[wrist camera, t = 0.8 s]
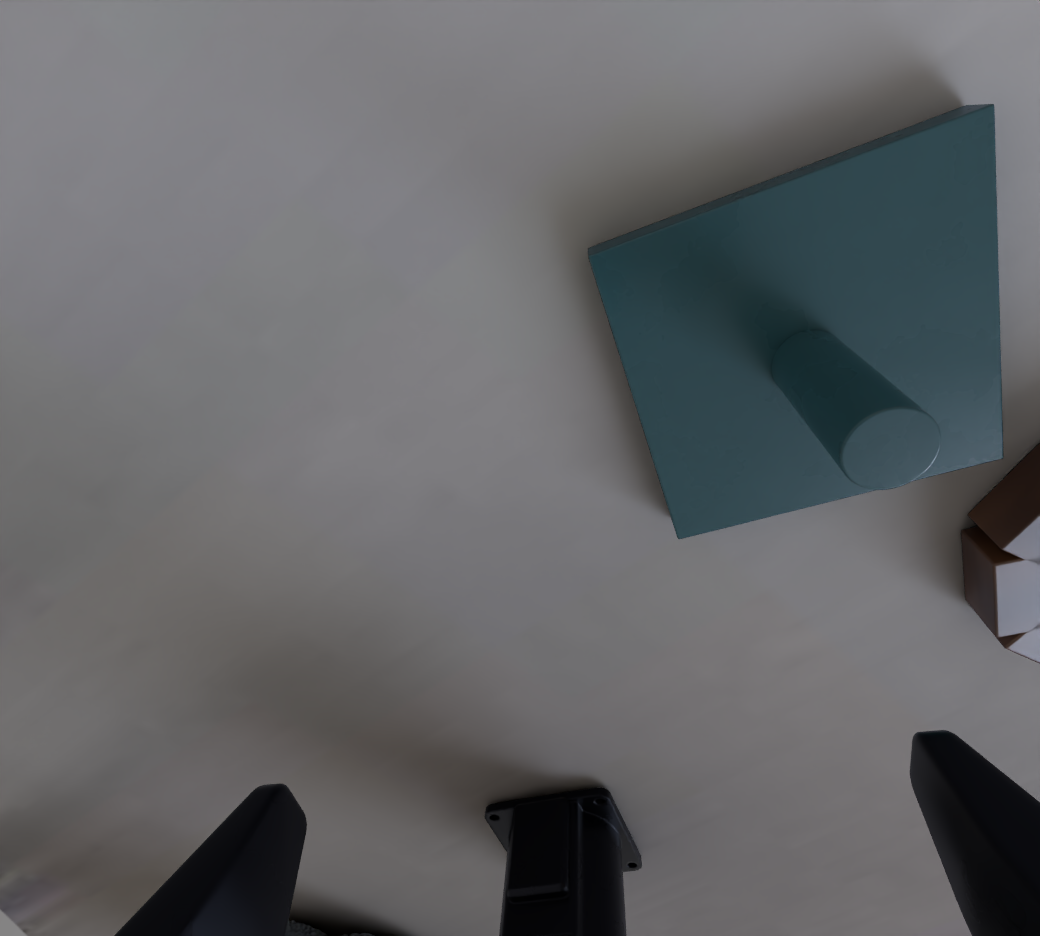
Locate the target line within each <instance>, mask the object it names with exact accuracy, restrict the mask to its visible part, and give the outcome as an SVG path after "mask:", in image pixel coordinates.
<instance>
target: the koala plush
mask: <svg viewBox="0 0 1040 936" xmlns="http://www.w3.org/2000/svg"><path fill="white" fill-rule="evenodd" d="M285 936H326V934H325V933H322V932H321V930H317V929H314V928H312V927H311V926H309V925H305V924H303V923H298V922H297V923H296V922H295V920H292V921H291V922H290V921H289V920H288V924H287V928H286V932H285ZM342 936H348V935H347V934H345V935H342ZM350 936H374V935H371V934H370V933H361V934H358V933H353V934H351V935H350Z"/></svg>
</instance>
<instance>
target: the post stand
mask: <svg viewBox="0 0 1040 936" xmlns="http://www.w3.org/2000/svg"><path fill="white" fill-rule="evenodd" d="M588 258H589V261H590V264H591V267H592V270H593V273H594V277H595V280H596V283H597V286H598V289H599V292H600V295H601V299H602V302H603V305H604V308H605V311H606V314H607V317H608V321H609V324H610V327H611V330H612V333H613V336H614V339H615V343H616V346H617V349H618V352H619V355H620V358H621V361H622V365H623V368H624V371H625V374H626V377H627V380H628V384H629V387H630V390H631V393H632V396H633V399H634V402H635V406H636V409H637V412H638V415H639V418H640V421H641V424H642V428H643V431H644V434H645V437H646V440H647V443H648V446H649V450H650V453H651V456H652V459H653V462H654V465H655V468H656V472H657V475H658V478H659V481H660V484H661V487H662V490H663V494H664V497H665V500H666V503H667V506H668V509H669V512H670V516H671V519H672V522H673V525H674V528H675V531H676V534H677V538H678V539H682V538H686V537H690V536H694V535H698V534H702V533H706V532H710V531H714V530H718V529H722V528H726V527H730V526H734V525H738V524H742V523H746V522H750V521H754V520H758V519H762V518H766V517H770V516H774V515H778V514H782V513H786V512H790V511H794V510H798V509H802V508H806V507H811V506H815V505H819V504H823V503H827V502H831V501H835V500H839V499H843V498H847V497H851V496H855V495H859V494H863V493H867V492H871V491H875V490H886V489H892V488H896V487H900V486H903V485H905V484H907V483H909V482H911V481H915V480H919V479H923V478H927V477H931V476H935V475H939V474H943V473H947V472H951V471H955V470H959V469H963V468H967V467H971V466H975V465H979V464H983V463H987V462H991V461H995V460H999V459H1002V458H1003V426H1002V388H1001V349H1000V311H999V272H998V234H997V195H996V157H995V118H994V105H993V104H984V105H966V106H963V107H960V108H958V109H955V110H952V111H950V112H947V113H944V114H942V115H939V116H936V117H934V118H931V119H929V120H926V121H923V122H921V123H918V124H915V125H913V126H910V127H907V128H905V129H902V130H899V131H897V132H894V133H892V134H889V135H886V136H884V137H881V138H878V139H876V140H873V141H870V142H868V143H865V144H862V145H860V146H857V147H855V148H852V149H849V150H847V151H844V152H841V153H839V154H836V155H833V156H831V157H828V158H825V159H823V160H820V161H818V162H815V163H812V164H810V165H807V166H804V167H802V168H799V169H796V170H794V171H791V172H788V173H786V174H783V175H781V176H778V177H775V178H773V179H770V180H767V181H765V182H762V183H759V184H757V185H754V186H751V187H749V188H746V189H744V190H741V191H738V192H736V193H733V194H730V195H728V196H725V197H722V198H720V199H717V200H714V201H712V202H709V203H707V204H704V205H701V206H699V207H696V208H693V209H691V210H688V211H685V212H683V213H680V214H677V215H675V216H672V217H670V218H667V219H664V220H662V221H659V222H656V223H654V224H651V225H648V226H646V227H643V228H640V229H638V230H635V231H633V232H630V233H627V234H625V235H622V236H619V237H617V238H614V239H611V240H609V241H606V242H603V243H601V244H598V245H596V246H593V247H590V248H589V249H588Z"/></svg>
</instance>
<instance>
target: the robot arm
mask: <svg viewBox="0 0 1040 936" xmlns="http://www.w3.org/2000/svg"><path fill="white" fill-rule="evenodd" d="M910 779H911V783H912V787H913V790H914V793H915V795H916V798H917V801H918V803H919V806H920V808H921V811H922V813H923V816H924V818H925V821H926V823H927V826H928V828H929V831H930V834H931V836H932V839H933V841H934V844H935V846H936V849H937V851H938V854H939V856H940V859H941V862H942V864H943V867H944V869H945V872H946V874H947V877H948V879H949V882H950V884H951V887H952V889H953V892H954V895H955V897H956V900H957V902H958V904H959V907H960V909H961V912H962V914H963V917H964V919H965V921H966V924H967V926H968V928H969V930H970V932H971V934H972V936H1040V802H1039V801H1037V800H1036V799H1035V798H1034V797H1032V796H1031V795H1030V794H1029V793H1027V792H1026V791H1025V790H1024V789H1022V788H1021V787H1020V786H1019V785H1018V784H1016V783H1015V782H1014V781H1013V780H1011V779H1010V778H1009V777H1008V776H1006V775H1005V774H1004V773H1003V772H1001V771H1000V770H999V769H998V768H996V767H995V766H994V765H993V764H991V763H990V762H989V761H988V760H986V759H985V758H984V757H983V756H981V755H980V754H979V753H978V752H977V751H975V750H974V749H973V748H972V747H970V746H969V745H968V744H967V743H965V742H964V741H963V740H962V739H960V738H959V737H958V736H957V735H955V734H953V733H952V732H949V731H946V730H939V731H926V732H918V733H916V734H915V735H914V736H913V740H912V751H911V763H910ZM485 819H486V821H487V822H488V824H489V825H490V827H491V828H492V830H493V832H494V833H495V835H496V836H497V838H498V839H499V841H500V842H501V844H502V845H503V847H504V848H505V850H506V851H507V862H506V872H505V882H504V892H503V903H502V913H501V923H500V934H499V936H626V921H625V904H624V887H623V872H627V871H635V870H639V869H640V868H641V867H642V861H641V855H640V853H639V851H638V849H637V847H636V845H635V843H634V841H633V839H632V837H631V835H630V833H629V831H628V829H627V827H626V824H625V822H624V820H623V818H622V816H621V814H620V812H619V810H618V808H617V806H616V804H615V802H614V800H613V798H612V796H611V794H610V792H609V791H608V790H607V789H605V788H592V789H585V790H579V791H572V792H566V793H560V794H553V795H547V796H541V797H534V798H528V799H521V800H515V801H509V802H502V803H496V804H491V805H488V806H487V807H486V811H485ZM306 826H307V823H306V817H305V814H304V812H303V810H302V809H301V807H300V805H299V804H298V802H297V801H296V799H295V797H294V796H293V794H292V793H291V791H290V790H289V788H288V787H287V786H286V785H284V784H270V785H262V786H259V787H257V788H256V789H255V790H254V791H252V792H251V793H250V794H249V796H248V797H247V798H246V799H245V800H244V801H243V802H242V803H241V804H240V805H239V806H238V807H237V808H236V809H235V810H234V811H233V812H232V813H231V814H230V815H229V816H228V817H227V818H226V820H225V821H224V822H223V823H222V824H221V825H220V826H219V827H218V828H217V829H216V830H215V831H214V832H213V833H212V834H211V835H210V836H209V837H208V838H207V839H206V840H205V841H204V843H203V844H202V845H201V846H200V847H199V848H198V849H197V850H196V851H195V852H194V853H193V854H192V855H191V856H190V857H189V858H188V859H187V860H186V861H185V862H184V863H183V864H182V866H181V867H180V868H179V869H178V870H177V871H176V872H175V873H174V874H173V875H172V876H171V877H170V878H169V879H168V880H167V881H166V882H165V883H164V884H163V885H162V886H161V887H160V888H159V890H158V891H157V892H156V893H155V894H154V895H153V896H152V897H151V898H150V899H149V900H148V901H147V902H146V903H145V904H144V905H143V906H142V907H141V908H140V909H139V910H138V911H137V913H136V914H135V915H134V916H133V917H132V918H131V919H130V920H129V921H128V922H127V923H126V924H125V925H124V926H123V927H122V928H121V929H120V930H119V931H118V932H117V933H116V934H115V936H285V932H286V928H287V924H288V919H289V914H290V909H291V904H292V899H293V894H294V889H295V884H296V879H297V874H298V869H299V864H300V860H301V855H302V850H303V845H304V840H305V835H306Z"/></svg>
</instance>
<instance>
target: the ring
mask: <svg viewBox="0 0 1040 936" xmlns="http://www.w3.org/2000/svg"><path fill="white" fill-rule="evenodd" d="M968 516H969V517H970V518H971V519H972V520H973V521H974V522H975V523H976V524H977V525H978V526H977V527H972V528H968V529H964V530H962V531H961V537H962V552H963V568H964V583H965V598H966V601H967V602H968V603H969V604H970V606H971V607H972V608H973V609H974V611H975V612H976V613H977V614H978V616H979V617H980V618H981V619H982V621H983V622H984V623H985V624H986V626H987V627H988V628H989V629H990V630H991V632H992V633H993V634H994V635H995V637H996V638H997V639H998V640H999V642H1000V643H1001V644H1002V645H1003V646H1004V648H1006V649H1008V650H1010V651H1012V652H1015V653H1017V654H1019V655H1022V656H1024V657H1026V658H1028V659H1031V660H1033V661H1035V662H1038V663H1040V443H1039V444H1038V445H1037V446H1036V447H1035V448H1034V449H1033V450H1032V451H1031V452H1030V453H1029V454H1028V455H1027V456H1026V457H1025V458H1024V459H1023V460H1022V461H1021V462H1020V463H1019V464H1018V465H1017V466H1016V467H1015V468H1014V469H1013V470H1012V471H1011V472H1010V473H1009V474H1008V475H1007V476H1006V477H1005V478H1004V479H1003V480H1002V481H1001V482H1000V483H999V484H998V485H997V486H996V487H995V488H994V489H993V490H992V491H991V492H990V493H989V494H988V495H987V496H986V497H985V498H984V499H983V500H982V501H981V502H980V503H979V504H978V505H977V506H976V507H975V508H974V509H973V510H972V511H971V512H970V513H969V514H968Z"/></svg>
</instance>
